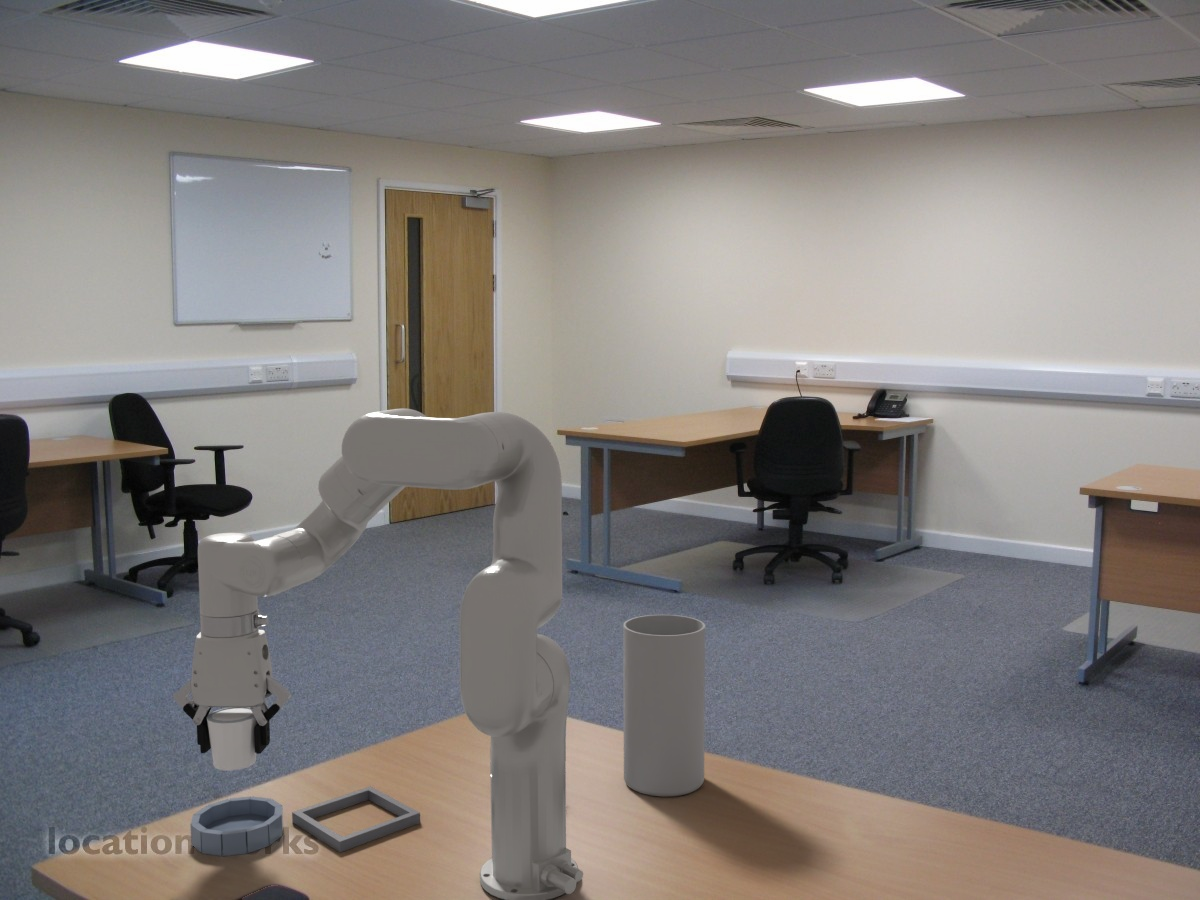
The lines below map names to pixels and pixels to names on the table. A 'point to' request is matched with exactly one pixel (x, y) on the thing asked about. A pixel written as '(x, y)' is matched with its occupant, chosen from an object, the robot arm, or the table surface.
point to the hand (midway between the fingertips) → (234, 748)
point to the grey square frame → (405, 820)
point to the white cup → (232, 738)
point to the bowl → (237, 826)
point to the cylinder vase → (664, 704)
